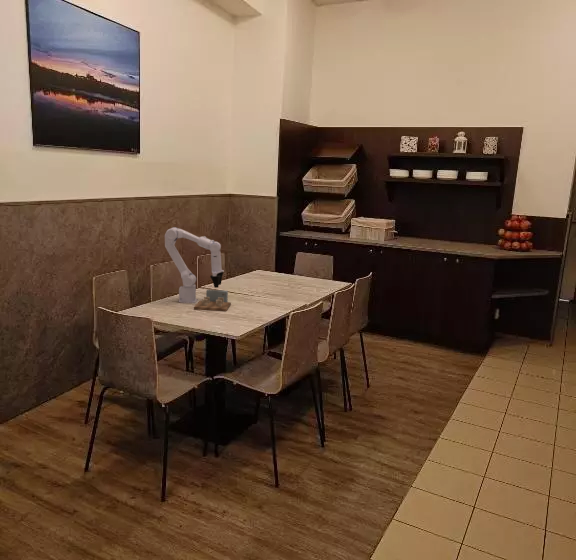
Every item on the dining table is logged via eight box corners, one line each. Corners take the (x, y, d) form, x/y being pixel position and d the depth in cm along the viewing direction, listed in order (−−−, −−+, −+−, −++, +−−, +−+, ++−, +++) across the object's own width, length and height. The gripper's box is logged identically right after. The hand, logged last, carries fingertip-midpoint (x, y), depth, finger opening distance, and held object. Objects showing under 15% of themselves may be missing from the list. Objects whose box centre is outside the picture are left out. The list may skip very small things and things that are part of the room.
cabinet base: (193, 309, 277) (193, 300, 276) (199, 303, 290) (199, 294, 289) (226, 311, 276) (226, 302, 275) (230, 305, 289) (230, 296, 288)
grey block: (205, 302, 293) (206, 291, 292) (207, 301, 297) (207, 289, 295) (226, 303, 292) (226, 292, 291) (227, 302, 296) (227, 290, 295)
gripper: (220, 265, 283) (222, 288, 285) (225, 260, 297) (226, 283, 300) (208, 265, 283) (209, 288, 286) (213, 261, 297) (215, 283, 300)
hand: (217, 286), depth 293 cm, fingers open, 7 cm apart
